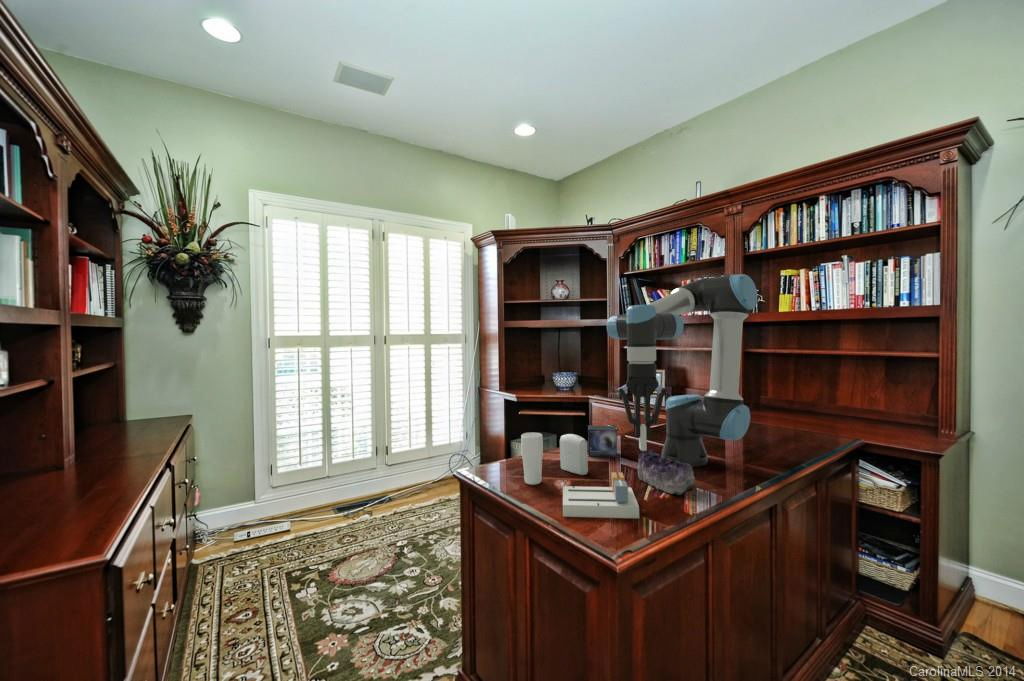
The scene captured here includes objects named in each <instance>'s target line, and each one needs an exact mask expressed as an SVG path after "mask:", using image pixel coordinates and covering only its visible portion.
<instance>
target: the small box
mask: <svg viewBox="0 0 1024 681" xmlns="http://www.w3.org/2000/svg"><path fill="white" fill-rule="evenodd" d="M617 433H618V430H617V426H616V425H587V437H588V438H587V455H588V458H591V457H592V458H593V457H596V458H618V440H617V439H618V434H617Z"/></svg>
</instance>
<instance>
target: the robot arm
mask: <svg viewBox="0 0 1024 681" xmlns="http://www.w3.org/2000/svg"><path fill="white" fill-rule="evenodd" d="M757 304H758V291H757V288H756V284H755V282H754V281H753V279H752V278H751V277H750V276H749V275H747V274H745V273H741V274H734V273H733V274H728V275H722V276H721V275H720V276H714V277H713V276H712V277H704V278H699V279H696V280H693V281H690V282H687V283H686V284H684V285H681V286H679V287H677V288H675V289H673V290H672V291H671V292H670V294H668V295H666V296H664V297H662V298H659V299H657V300H655V301H653V302H649V303H648V304H635V305H630V306H628V307H627V309H626V313H625V314H616V315H612V316H610V317H609V318H608V320H607V322H606V332H607V334H608V336H609V337H610V338H611V339H614V340H621V341H622V340H626V342H627V343H626V352H627V353H626V356H627V357H626V358H627V359H626V361H627V362H628V363H627V364H626V365H627V366H626V367H627V368H626V369H627V371H626V372H627V379H626V380H625V384H624V385H622V386H621V387H618V388H617V391H618V393H619V394H620V396H621V399H622V402H623V403H622V404H623V407H624V410H625V414H626V418H627V421H628V422H629V424H632V425H634V436H635V437H636V438H638V448H639V449H640V451H642V452H643V451H647V448H648V447H647V444H648V443H647V438H651V426H652V425H654V424H658V421H659V417H660V413H661V408H662V404H663V399H664V397H665V395H666V394H667V392H668V389H667V388H666V387H663V386H661V385H660V384H659V381H658V379H657V364H656V363H655V362H656V361H657V340H673V339H676V338H678V337H679V336H681V334H682V333H683V331H684V321H683V318H681V316H680V315H683V316H684V315H688V314H690V313H696V312H709V316H710V317H711V318H712V319H713V334H712V349H711V366H710V376H709V377H710V378H709V381H710V382H709V390H708V392H707V393H705V394H704V395H703V396H704V397H703V399H702V396H701V395H700V394H682V395H673V396H672V395H671V396H669V397H668V398H667V399H666V401H665V422H666V423H665V427H666V429H665V430H666V431H665V432H666V438H665V441H664V444H663V447H662V450H661V458H664V457H666V458H669V459H671V460H674V461H679V462H681V463H683V464H690V465H691V466H692V468H694V467H695V468H697V467H703V466H705V465H707V464H708V459H709V458H708V454H707V450H706V447H705V445H704V442H703V438H702V437H703V436H705V437H706V436H707V437H711V438H716V439H721V440H724V441H726V440H729V441H738V440H740V439H742V438H743V437H744V436H745V435H746V433H747V431H748V429H749V427H750V422H751V412H750V408H749V407H748V406H747V405H745V404H744V397H742V396H741V395H740V393H739V391H740V390H739V388H740V377H741V376H740V373H741V371H740V370H741V358H742V357H741V356H742V345H743V344H742V341H743V340H742V339H743V324H744V320H745V319H747V318H748V317H749V314H750V313H749V312H750V311H751V310H753V309H755V308H756V305H757ZM628 391H630V392H631V394H632V396H633V401H634V403H633V405H634V408H633V410H634V413H632V409H631V406H630V402H629V399H628V395H627V394H628ZM655 391H656V393H657V394H656V396H655V401H654V404H653V410H652V414H651V396H652V395H653V394H654V393H655ZM641 398H643V414H644V416H643V418H644V419H643V420H644V424H643V423H641V422H642V421H641V400H642V399H641ZM633 414H634V416H633ZM647 452H648V451H647Z"/></svg>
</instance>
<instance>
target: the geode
mask: <svg viewBox="0 0 1024 681" xmlns="http://www.w3.org/2000/svg"><path fill="white" fill-rule="evenodd" d="M637 461H638V465H637V476H638V480H639V481H642V482H644V483H646V484H648V485H650V486H651V487H654V488H656V490H660V491H661V492H665V493H667V494H669V495H670V494H671V495H676V496H679V497H680V496H682V495H683V494H684V493H686V491H687V490H690V489H692V488H694V487H695V486H696V485H695V481H696V477H695V476H694V471H693V470H694V469H693V468H694V467H692V466H691V465H690V464H683V463H681V462H679V461H674V460H671V459H669V458H666V457H664V458H662V456H661V454H660V453H657V452H656V451H655V450H654V449H653V448H651V449H650V450H649V451H642V453H641V452H640V453H638V458H637Z"/></svg>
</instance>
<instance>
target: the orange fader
mask: <svg viewBox="0 0 1024 681" xmlns="http://www.w3.org/2000/svg"><path fill="white" fill-rule="evenodd" d="M610 474H611V476H610V477H611V478H610V479H611V487H612V490H613V492H614V481H619V480H621V481H625V475H624V474H623V472H618V471H613V472H611V473H610Z"/></svg>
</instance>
